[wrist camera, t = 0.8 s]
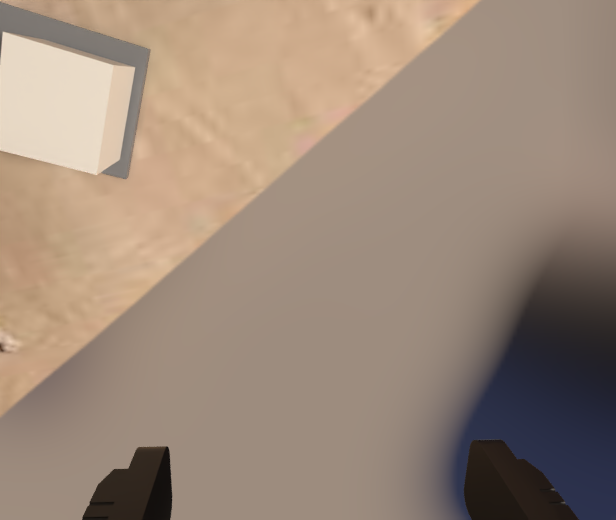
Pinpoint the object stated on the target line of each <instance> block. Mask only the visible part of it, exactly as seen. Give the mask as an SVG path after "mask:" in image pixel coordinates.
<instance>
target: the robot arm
mask: <svg viewBox="0 0 616 520" xmlns="http://www.w3.org/2000/svg"><path fill="white" fill-rule="evenodd" d="M464 498H465V503H466V507H467V510H468V513H469V515H470V517H471V519H472V520H579V519H578V518H577V517H576V515H575V514H574V513H573V511H572V510H571V509H570V507H569V506H568V505H566V504H565V501H564V500H563V499H562V497H561V496H560V495H559V493H558V492H555V488H554V487H553V486H552V484H551V483H550V482H549V480H548V479H547V478H546V477H545V475H544V474H543V473H542V472H541V471H539V470H538V469H537V468H536V467H534V466H533V465H532V464H530V463H529V462H528V461H526V460H525V459H516V457H515V456H514V454H513V453H512V451H511V450H510V449H509V447H508V446H507V445H506V443H505V442H504V441H503V440H473V441H472V442H471V445H470V449H469V456H468V463H467V470H466V477H465V484H464ZM171 510H172V486H171V470H170V453H169V448H168V447H138V448H137V450H136V452H135V454H134V457H133V459H132V461H131V464H130V466H129V468H128V469H114V470H113V471H112V472H111V473H110V474H109V475H108V476H107V477H106V478H105V479H103V481H101V483H99V484H98V486H97V488H96V491H95V492H94V494H93V496H92V499H91V501H90V505H89V506H88V507H87V509H86V511H85V513H84V515H83V519H82V520H170V517H171Z"/></svg>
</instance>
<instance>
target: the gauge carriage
mask: <svg viewBox="0 0 616 520" xmlns="http://www.w3.org/2000/svg"><path fill="white" fill-rule="evenodd" d="M134 72H135V67H133V66H130V65H126V64H123V63H120V62H116V61H113V60H110V59H107V58H103V57H100V56H97V55H94V54H90V53H87V52H84V51H80V50H77V49H74V48H71V47H67V46H64V45H61V44H58V43H54V42H51V41H48V40H44V39H39V38H34V37H29V36H23V35H18V34H13V33H8V32H3V35H2V47H1V59H0V150H1V151H5V152H8V153H12V154H16V155H20V156H24V157H28V158H32V159H36V160H40V161H44V162H48V163H52V164H56V165H60V166H64V167H68V168H71V169H75V170H79V171H83V172H87V173H91V174H95V175H97V174H99V173H100V172H102V171H103V170H105V169H106V168H108V167H109V166H111V165H112V164H114V163H115V162H117V161H119V160H120V155H121V149H122V143H123V137H124V131H125V126H126V120H127V114H128V108H129V102H130V96H131V90H132V84H133V78H134Z"/></svg>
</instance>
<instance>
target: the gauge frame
mask: <svg viewBox="0 0 616 520" xmlns="http://www.w3.org/2000/svg"><path fill="white" fill-rule="evenodd" d="M3 32H8V33H13V34H18V35H23V36H29V37H34V38H39V39H44V40H48V41H51V42H54V43H58V44H61V45H64V46H67V47H71V48H74V49H77V50H80V51H84V52H87V53H90V54H94V55H97V56H100V57H103V58H107V59H110V60H113V61H116V62H120V63H123V64H126V65H130V66H133V67H135V72H134V78H133V84H132V90H131V96H130V102H129V108H128V114H127V120H126V126H125V131H124V137H123V143H122V149H121V155H120V160H119V161H117V162H115V163H114V164H112V165H111V166H109V167H108V168H106V169H105V170H103V171H102V172H100V173H103V174H107V175H111V176H115V177H119V178H123V179H127V178H128V175H129V169H130V163H131V158H132V152H133V146H134V141H135V135H136V129H137V124H138V118H139V112H140V107H141V101H142V95H143V89H144V84H145V78H146V72H147V67H148V61H149V55H150V49H147V48H144V47H141V46H138V45H135V44H131V43H128V42H125V41H122V40H119V39H116V38H112V37H109V36H106V35H103V34H100V33H96V32H93V31H90V30H87V29H84V28H81V27H77V26H74V25H71V24H68V23H65V22H62V21H58V20H55V19H52V18H49V17H46V16H43V15H39V14H36V13H33V12H30V11H27V10H24V9H20V8H17V7H14V6H11V5H8V4H5V3H1V2H0V59H1V47H2V35H3Z"/></svg>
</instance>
